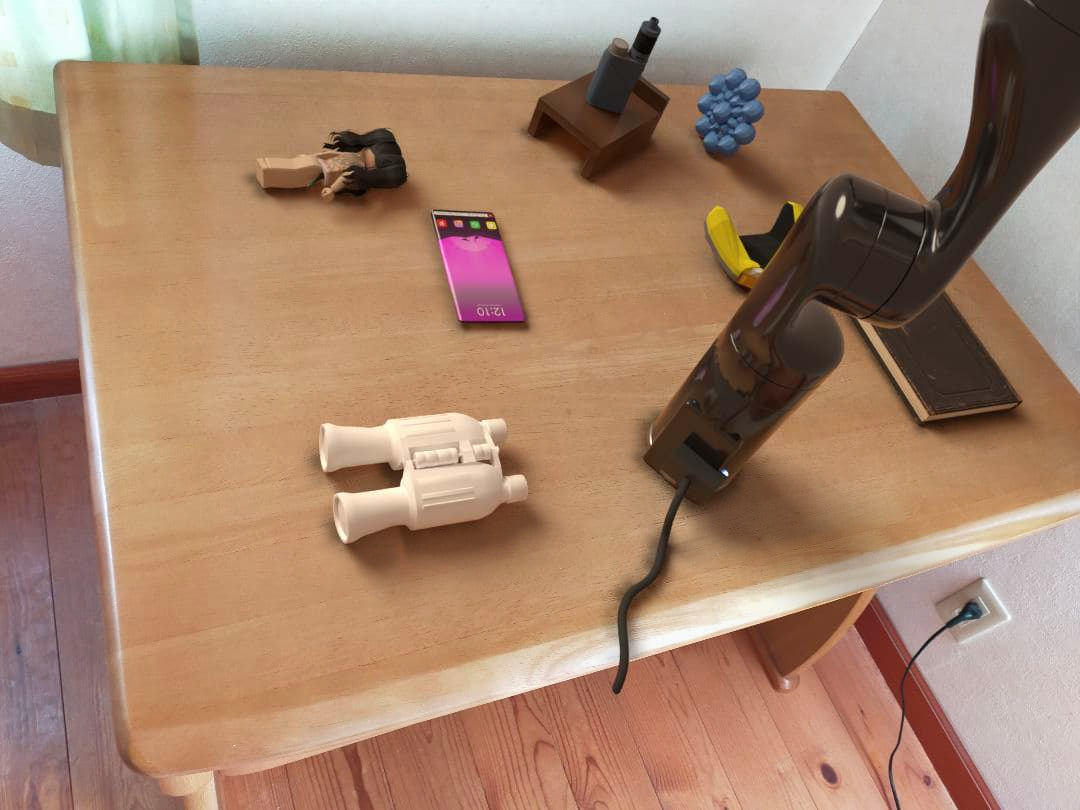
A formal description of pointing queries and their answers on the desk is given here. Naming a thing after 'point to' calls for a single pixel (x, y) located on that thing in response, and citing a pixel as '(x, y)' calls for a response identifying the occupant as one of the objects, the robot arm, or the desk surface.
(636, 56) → the vaping device
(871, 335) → the hardcover book
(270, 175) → the toy figure
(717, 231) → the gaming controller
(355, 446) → the binoculars
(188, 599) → the desk surface
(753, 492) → the desk surface
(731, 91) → the grapes
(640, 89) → the shelf
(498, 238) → the smartphone
